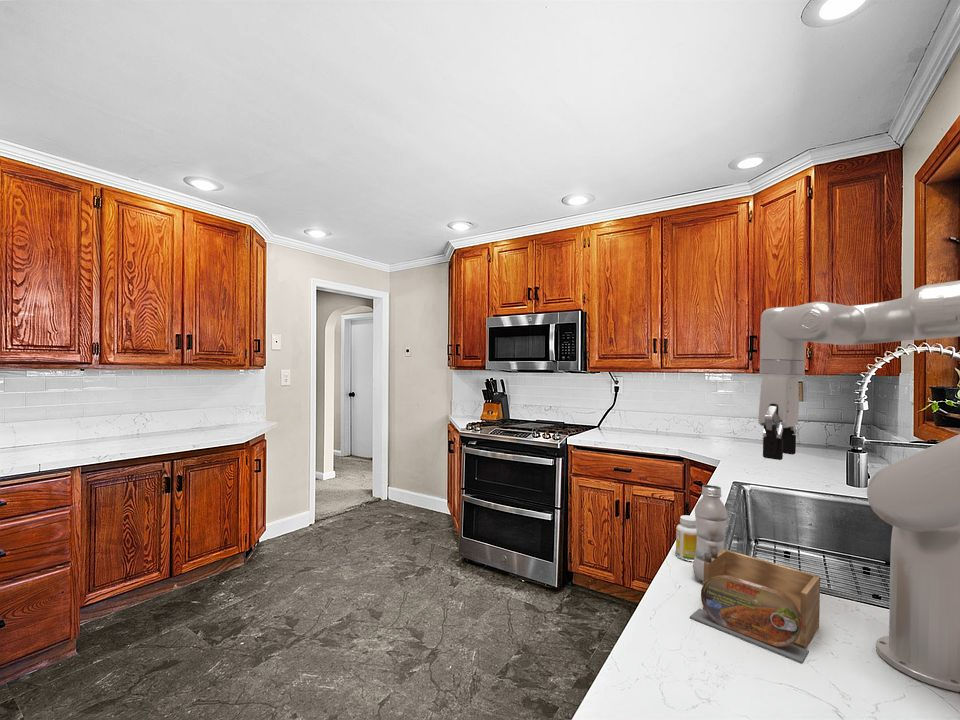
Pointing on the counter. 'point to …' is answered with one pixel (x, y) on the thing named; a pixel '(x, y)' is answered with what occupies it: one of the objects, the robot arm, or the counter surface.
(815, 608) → the cabinet carcass
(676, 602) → the counter surface
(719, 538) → the plastic bottle
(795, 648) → the flat grey bar
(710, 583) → the tin
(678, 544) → the supplement bottle
